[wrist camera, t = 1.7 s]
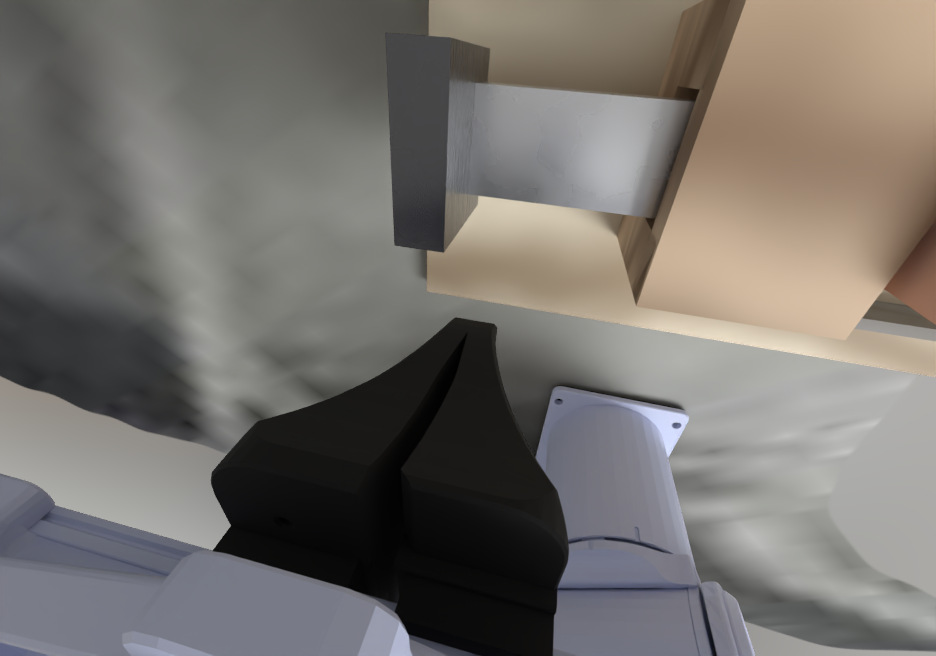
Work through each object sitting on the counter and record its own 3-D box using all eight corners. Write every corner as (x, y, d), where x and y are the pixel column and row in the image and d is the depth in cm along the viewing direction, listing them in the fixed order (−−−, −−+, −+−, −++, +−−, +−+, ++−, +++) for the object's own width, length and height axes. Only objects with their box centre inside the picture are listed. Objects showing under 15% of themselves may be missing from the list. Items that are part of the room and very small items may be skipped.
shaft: (1016, 275, 13) (1225, 372, 9) (441, 199, 16) (394, 245, 11) (1183, 99, 10) (1609, 118, 6) (445, 45, 13) (385, 32, 9)
